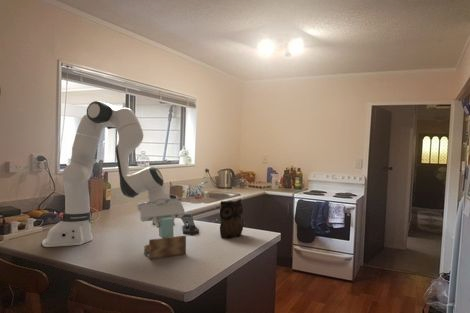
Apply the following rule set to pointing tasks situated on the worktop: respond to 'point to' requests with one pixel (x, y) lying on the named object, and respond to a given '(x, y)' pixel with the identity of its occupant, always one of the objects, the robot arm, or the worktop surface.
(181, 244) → the board
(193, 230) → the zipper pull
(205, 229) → the worktop surface
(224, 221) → the owl
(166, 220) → the cabinet block
